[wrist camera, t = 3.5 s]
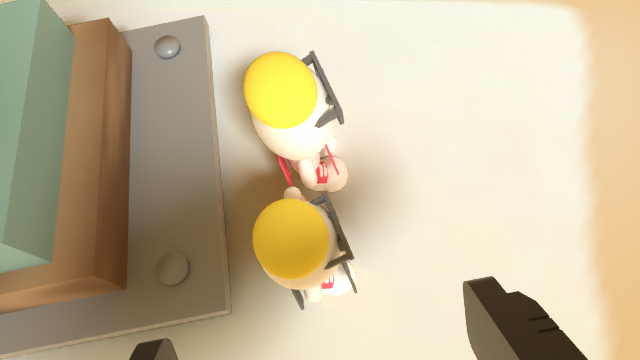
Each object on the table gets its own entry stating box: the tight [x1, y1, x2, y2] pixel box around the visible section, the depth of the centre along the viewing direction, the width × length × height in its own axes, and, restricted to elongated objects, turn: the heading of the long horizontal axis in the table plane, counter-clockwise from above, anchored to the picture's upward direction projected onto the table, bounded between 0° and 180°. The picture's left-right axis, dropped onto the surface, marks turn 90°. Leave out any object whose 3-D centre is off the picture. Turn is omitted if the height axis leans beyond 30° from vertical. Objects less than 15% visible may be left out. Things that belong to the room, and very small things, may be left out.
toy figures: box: [243, 51, 357, 310], centre depth 20 cm, size 12×4×8 cm, turn 4°
